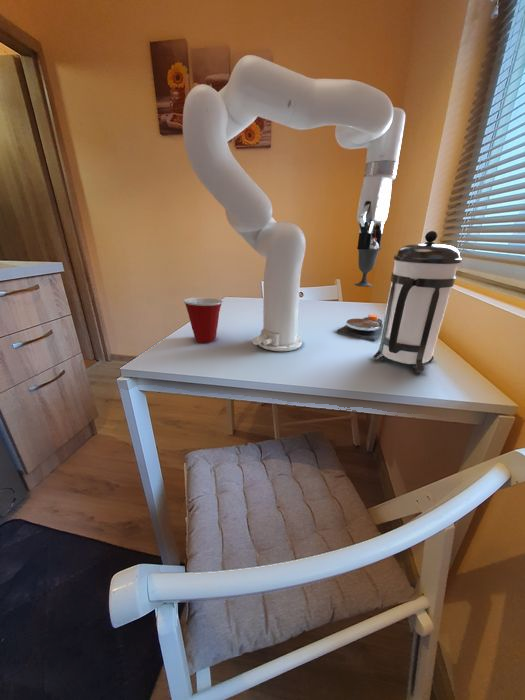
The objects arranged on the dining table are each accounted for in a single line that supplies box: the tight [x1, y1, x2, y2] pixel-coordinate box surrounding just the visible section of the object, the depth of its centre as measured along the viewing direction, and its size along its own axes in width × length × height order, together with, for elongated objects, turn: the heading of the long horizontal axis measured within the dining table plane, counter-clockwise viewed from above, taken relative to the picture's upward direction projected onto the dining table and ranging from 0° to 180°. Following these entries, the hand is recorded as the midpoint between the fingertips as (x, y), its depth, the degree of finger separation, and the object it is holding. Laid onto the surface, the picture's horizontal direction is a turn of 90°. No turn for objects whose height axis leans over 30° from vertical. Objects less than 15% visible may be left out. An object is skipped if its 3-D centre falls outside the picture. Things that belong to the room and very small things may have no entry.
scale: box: [336, 316, 383, 342], centre depth 91 cm, size 16×12×2 cm
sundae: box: [354, 229, 382, 288], centre depth 78 cm, size 7×7×15 cm
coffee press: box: [372, 230, 462, 374], centre depth 63 cm, size 17×16×30 cm
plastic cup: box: [183, 297, 224, 344], centre depth 79 cm, size 11×11×12 cm
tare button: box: [367, 314, 379, 321], centre depth 94 cm, size 3×3×2 cm
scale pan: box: [345, 318, 380, 331], centre depth 88 cm, size 10×10×1 cm
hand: (368, 248), depth 76 cm, fingers closed on sundae, 6 cm apart
